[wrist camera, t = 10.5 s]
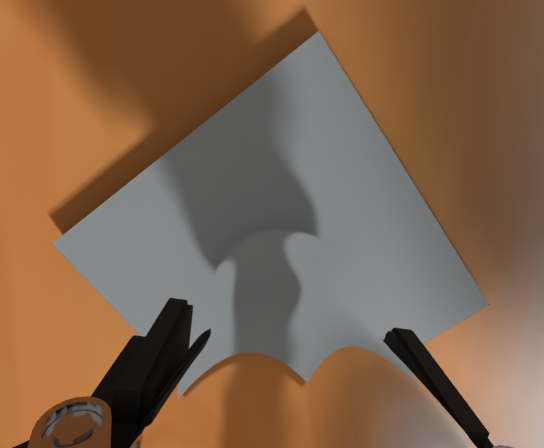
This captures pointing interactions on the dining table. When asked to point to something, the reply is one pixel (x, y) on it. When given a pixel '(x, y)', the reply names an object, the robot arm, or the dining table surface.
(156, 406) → the beer glass
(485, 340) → the dining table surface
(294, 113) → the grey mat
